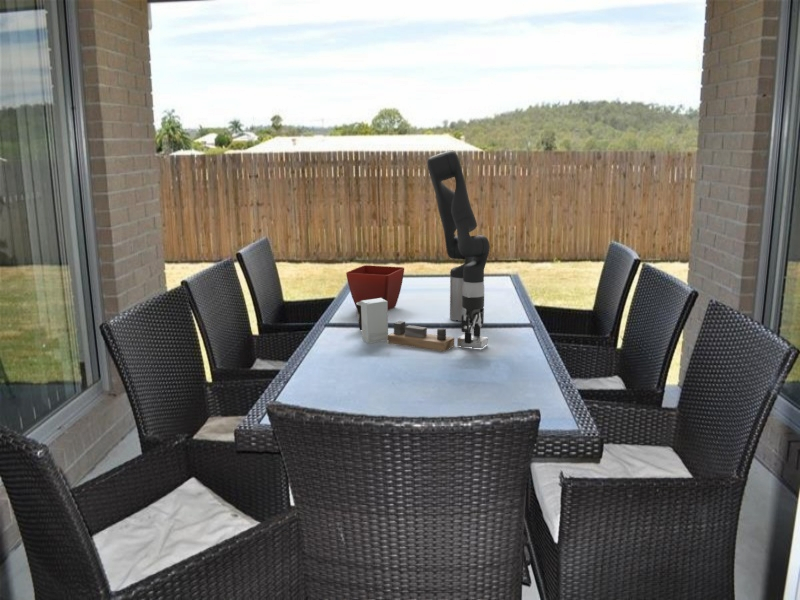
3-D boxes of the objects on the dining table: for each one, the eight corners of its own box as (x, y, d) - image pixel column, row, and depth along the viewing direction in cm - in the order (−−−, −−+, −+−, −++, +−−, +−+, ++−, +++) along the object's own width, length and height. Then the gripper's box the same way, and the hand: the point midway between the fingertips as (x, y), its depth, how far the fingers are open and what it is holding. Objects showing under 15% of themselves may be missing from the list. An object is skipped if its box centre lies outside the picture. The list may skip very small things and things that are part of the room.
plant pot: (345, 311, 311) (345, 272, 307) (365, 302, 328) (364, 264, 324) (388, 315, 304) (387, 275, 300) (405, 305, 321) (405, 267, 317)
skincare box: (382, 337, 272) (381, 297, 269) (389, 341, 267) (388, 300, 263) (360, 339, 268) (360, 299, 265) (367, 344, 263) (366, 302, 260)
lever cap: (463, 343, 264) (463, 334, 263) (487, 347, 260) (487, 337, 259) (457, 347, 259) (457, 337, 258) (481, 351, 255) (481, 341, 254)
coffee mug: (376, 332, 278) (376, 306, 276) (354, 331, 280) (353, 305, 278) (383, 324, 289) (383, 299, 287) (361, 323, 291) (361, 298, 289)
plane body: (399, 337, 271) (398, 319, 269) (454, 345, 260) (454, 326, 259) (388, 343, 264) (387, 324, 262) (444, 351, 253) (444, 331, 252)
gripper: (471, 289, 263) (470, 334, 267) (454, 296, 251) (453, 344, 254) (491, 291, 259) (490, 337, 263) (475, 299, 247) (474, 347, 251)
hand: (472, 340), depth 259 cm, fingers open, 7 cm apart
